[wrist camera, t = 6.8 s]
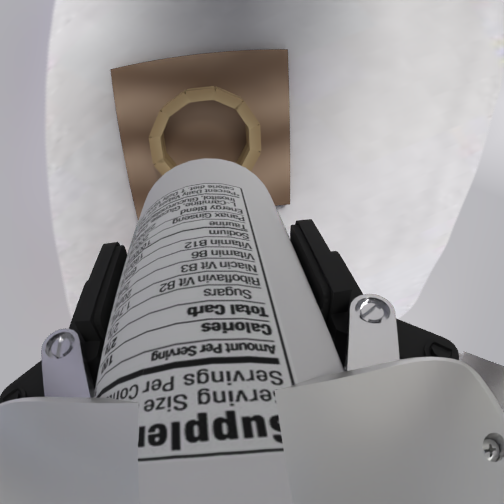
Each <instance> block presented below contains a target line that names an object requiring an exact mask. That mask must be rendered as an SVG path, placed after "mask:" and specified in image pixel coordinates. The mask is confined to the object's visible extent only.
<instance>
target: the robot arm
mask: <svg viewBox="0 0 504 504" xmlns="http://www.w3.org/2000/svg"><path fill="white" fill-rule="evenodd" d="M290 240H291V243H292V245H293V247H294V250H295V252H296V254H297V256H298V259H299V261H300V263H301V266H302V268H303V270H304V273H305V275H306V277H307V280H308V282H309V285H310V287H311V289H312V292H313V294H314V296H315V299H316V301H317V304H318V306H319V309H320V311H321V313H322V316H323V318H324V321H325V323H326V326H327V328H328V331H329V333H330V336H331V338H332V340H333V343H334V345H335V348H336V351H337V353H338V356H339V358H340V361H341V363H342V366H343V368H344V371H345V372H340V373H335V374H330V375H325V376H320V377H315V378H312V379H309V380H306V381H303V382H300V383H297V384H294V385H291V386H288V387H285V388H281V389H277V390H274V391H275V397H276V403H277V410H278V416H279V422H280V429H281V436H282V442H283V449H284V456H285V462H286V467H287V473H288V478H289V484H290V489H291V495H292V500H293V504H504V366H502V365H499V364H496V363H494V362H491V361H488V360H485V359H483V358H480V357H478V356H475V355H472V354H470V353H467V352H463V354H459V353H458V350H457V348H456V347H455V345H454V344H453V343H452V342H450V341H449V340H447V339H445V338H443V337H441V336H438V335H436V334H433V333H431V332H428V331H426V330H423V329H421V328H418V327H416V326H413V325H411V324H408V323H406V322H403V321H401V320H398V319H396V315H395V310H394V307H393V305H392V304H391V303H390V302H389V301H388V300H387V299H385V298H383V297H381V296H379V295H374V294H364V295H363V293H362V292H361V290H360V288H359V286H358V285H357V283H356V281H355V280H354V278H353V276H352V274H351V273H350V271H349V269H348V268H347V266H346V264H345V263H344V261H343V259H342V258H341V256H340V254H339V253H338V252H337V251H332V252H331V251H330V250H329V248H328V246H327V244H326V243H325V241H324V239H323V238H322V236H321V234H320V233H319V231H318V229H317V227H316V226H315V224H314V222H313V221H312V220H311V219H309V220H299V221H296V223H295V225H291V231H290ZM126 258H127V253H126V249H125V247H124V246H123V245H121V246H120V244H119V243H118V242H115V243H108V244H103V246H102V248H101V251H100V253H99V255H98V258H97V260H96V263H95V265H94V268H93V270H92V273H91V275H90V278H89V280H88V281H87V282H86V283H85V285H84V288H83V291H82V293H81V296H80V299H79V301H78V304H77V307H76V310H75V312H74V315H73V318H72V321H71V324H70V327H69V329H60V330H57V331H55V332H53V333H52V334H50V335H49V336H48V337H47V339H46V340H45V341H44V343H43V345H42V350H41V357H42V360H41V361H40V362H39V363H37V364H36V365H35V366H34V367H32V368H31V369H30V370H28V371H27V372H26V373H25V374H23V375H22V376H21V377H19V378H18V379H17V380H15V381H14V382H13V383H11V384H10V385H9V386H8V387H7V388H6V389H5V390H4V391H3V392H2V394H1V396H0V504H139V478H138V407H139V403H138V402H131V401H125V400H117V399H113V398H94V393H95V387H96V382H97V376H98V371H99V366H100V361H101V356H102V351H103V347H104V342H105V338H106V333H107V329H108V325H109V321H110V317H111V313H112V309H113V305H114V301H115V297H116V293H117V290H118V286H119V282H120V279H121V275H122V272H123V268H124V265H125V261H126Z"/></svg>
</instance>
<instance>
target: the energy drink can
mask: <svg viewBox="0 0 504 504" xmlns="http://www.w3.org/2000/svg"><path fill="white" fill-rule="evenodd" d="M340 372H345V371H344V368H343V366H342V363H341V361H340V358H339V356H338V353H337V351H336V348H335V345H334V343H333V340H332V338H331V336H330V333H329V331H328V328H327V326H326V323H325V321H324V318H323V316H322V313H321V311H320V309H319V306H318V304H317V301H316V299H315V296H314V294H313V292H312V289H311V287H310V285H309V282H308V280H307V277H306V275H305V273H304V270H303V268H302V266H301V263H300V261H299V259H298V256H297V254H296V252H295V250H294V247H293V245H292V243H291V240H290V238H289V236H288V234H287V231H286V229H285V227H284V224H283V222H282V220H281V218H280V216H279V213H278V211H277V209H276V207H275V204H274V202H273V200H272V198H271V196H270V194H269V192H268V190H267V188H266V187H265V185H264V184H263V183H262V182H261V180H260V179H259V178H258V177H257V176H256V175H255V174H253V173H252V172H251V171H249V170H248V169H246V168H245V167H243V166H241V165H238V164H236V163H234V162H231V161H226V160H222V159H208V158H204V159H198V160H192V161H188V162H186V163H183V164H180V165H178V166H176V167H174V168H173V169H171V170H169V171H168V172H166V173H165V174H164V175H163V176H162V177H161V178H160V179H159V180H158V181H157V182H156V183H155V184H154V186H153V187H152V189H151V190H150V192H149V193H148V196H147V198H146V201H145V203H144V206H143V209H142V212H141V215H140V218H139V221H138V224H137V227H136V230H135V233H134V236H133V239H132V242H131V245H130V248H129V252H128V255H127V258H126V261H125V265H124V268H123V272H122V275H121V279H120V282H119V286H118V290H117V293H116V297H115V301H114V305H113V309H112V313H111V317H110V321H109V325H108V329H107V333H106V338H105V342H104V347H103V351H102V356H101V361H100V366H99V371H98V376H97V382H96V387H95V393H94V398H113V399H117V400H125V401H131V402H138V403H139V407H138V478H139V504H293V500H292V495H291V489H290V484H289V478H288V473H287V467H286V462H285V456H284V449H283V442H282V436H281V429H280V422H279V416H278V410H277V403H276V397H275V391H274V390H277V389H281V388H285V387H288V386H291V385H294V384H297V383H300V382H303V381H306V380H309V379H312V378H315V377H320V376H325V375H330V374H335V373H340Z"/></svg>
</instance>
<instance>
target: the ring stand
mask: <svg viewBox="0 0 504 504" xmlns="http://www.w3.org/2000/svg"><path fill="white" fill-rule="evenodd" d="M111 77H112V85H113V92H114V99H115V106H116V113H117V119H118V125H119V131H120V137H121V142H122V148H123V153H124V158H125V163H126V168H127V173H128V178H129V183H130V187H131V192H132V196H133V201H134V205H135V209H136V214H137V218H138V221H139V218H140V215H141V212H142V209H143V206H144V203H145V201H146V198H147V196H148V193H149V192H150V190H151V189H152V187H153V186H154V184H155V183H156V182H157V181H158V180H159V179H160V178H161V177H162V176H163V175H164V174H165V173H166V172H168V171H169V170H171V169H173V168H174V167H176V166H178V165H180V164H183V163H186V162H188V161H192V160H198V159H204V158H208V159H222V160H226V161H231V162H234V163H236V164H238V165H241V166H243V167H245V168H246V169H248V170H249V171H251V172H252V173H253V174H255V175H256V176H257V177H258V178H259V179H260V180H261V182H262V183H263V184H264V185H265V187H266V188H267V190H268V192H269V194H270V196H271V198H272V200H273V202H274V204H275V206H276V205H286V204H290V119H289V75H288V49H271V50H242V51H226V52H214V53H204V54H195V55H187V56H179V57H172V58H166V59H160V60H154V61H148V62H143V63H138V64H133V65H128V66H124V67H119V68H115V69H111Z"/></svg>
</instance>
